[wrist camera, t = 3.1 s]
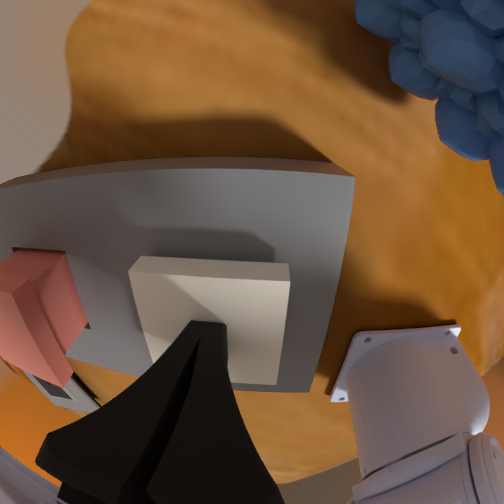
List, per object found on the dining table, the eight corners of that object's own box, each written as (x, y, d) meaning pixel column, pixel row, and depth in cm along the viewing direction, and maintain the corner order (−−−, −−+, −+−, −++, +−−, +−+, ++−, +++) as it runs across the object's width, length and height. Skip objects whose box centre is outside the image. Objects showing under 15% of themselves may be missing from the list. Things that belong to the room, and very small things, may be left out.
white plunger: (283, 223, 13) (290, 281, 9) (275, 313, 16) (276, 384, 11) (172, 220, 14) (127, 271, 9) (182, 307, 16) (156, 372, 11)
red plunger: (78, 236, 12) (11, 293, 7) (104, 323, 14) (63, 388, 9) (17, 235, 12) (-39, 277, 7) (43, 309, 14) (3, 359, 10)
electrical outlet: (0, 318, 20) (-10, 330, 18) (38, 310, 19) (24, 326, 17) (60, 393, 26) (53, 406, 24) (111, 401, 24) (104, 417, 22)
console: (333, 162, 12) (355, 177, 9) (304, 350, 17) (308, 392, 14) (16, 177, 13) (-19, 193, 10) (56, 318, 18) (35, 345, 15)
